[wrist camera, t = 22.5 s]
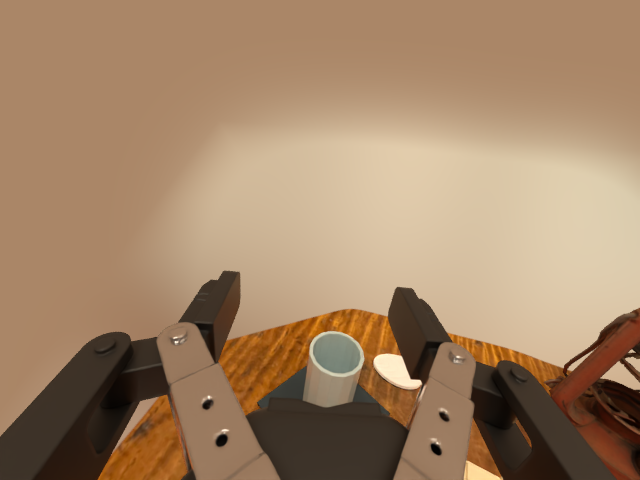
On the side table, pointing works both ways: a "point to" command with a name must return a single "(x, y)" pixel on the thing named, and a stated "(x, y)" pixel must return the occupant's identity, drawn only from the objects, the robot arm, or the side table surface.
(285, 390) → the back mat
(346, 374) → the pale grey cylindrical cup
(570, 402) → the lantern
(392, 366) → the spoon
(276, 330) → the side table surface
